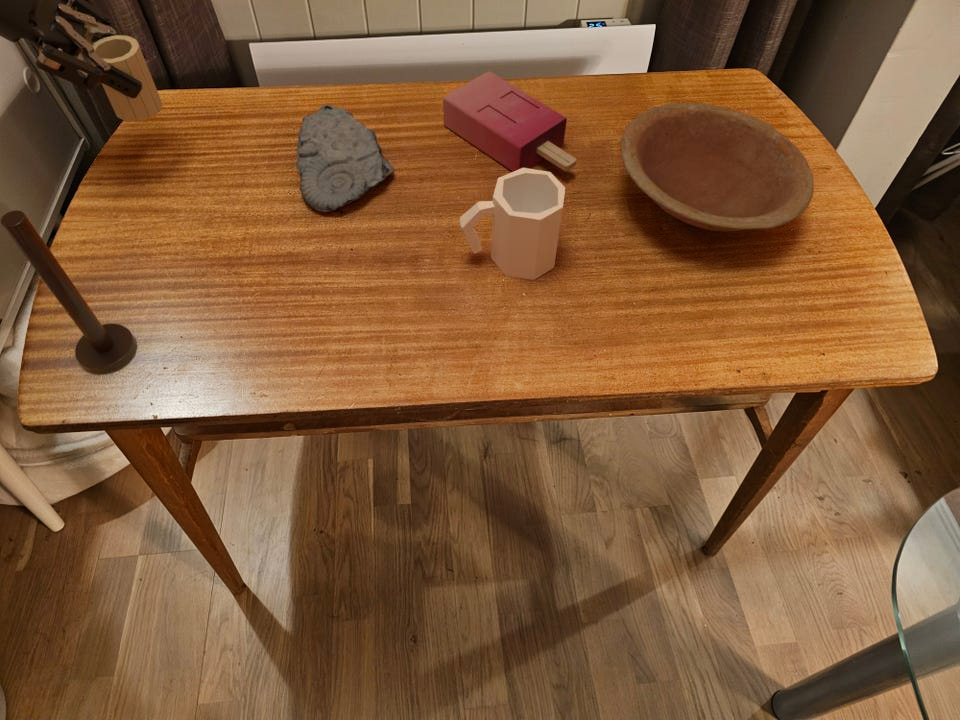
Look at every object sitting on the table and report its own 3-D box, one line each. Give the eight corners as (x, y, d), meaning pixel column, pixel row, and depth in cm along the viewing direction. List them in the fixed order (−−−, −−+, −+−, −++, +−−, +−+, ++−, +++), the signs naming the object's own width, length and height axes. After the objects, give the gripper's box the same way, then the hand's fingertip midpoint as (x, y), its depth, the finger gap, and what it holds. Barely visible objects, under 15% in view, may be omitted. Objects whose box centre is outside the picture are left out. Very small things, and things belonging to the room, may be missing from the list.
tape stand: (85, 382, 75) (-22, 252, 59) (75, 341, 78) (-29, 207, 62) (142, 361, 77) (54, 229, 61) (130, 322, 80) (43, 186, 64)
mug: (548, 225, 90) (556, 163, 82) (565, 275, 85) (575, 215, 77) (455, 237, 88) (453, 175, 80) (467, 289, 84) (467, 229, 76)
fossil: (319, 226, 89) (313, 202, 86) (265, 146, 98) (258, 121, 94) (408, 190, 93) (406, 166, 90) (350, 116, 102) (346, 92, 98)
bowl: (805, 280, 85) (834, 233, 79) (608, 260, 87) (620, 212, 80) (782, 153, 99) (805, 103, 92) (611, 137, 100) (621, 87, 93)
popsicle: (550, 167, 89) (442, 96, 97) (547, 196, 93) (443, 126, 101) (598, 135, 93) (490, 69, 101) (592, 164, 97) (489, 99, 105)
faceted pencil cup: (120, 126, 87) (92, 67, 80) (111, 101, 90) (83, 42, 83) (166, 114, 88) (143, 54, 82) (156, 90, 91) (132, 30, 85)
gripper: (-20, -8, 69) (152, 89, 80) (6, -76, 77) (159, 21, 88) (-47, 49, 72) (122, 134, 83) (-19, -22, 80) (131, 64, 92)
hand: (140, 75), depth 86 cm, fingers closed on faceted pencil cup, 5 cm apart
